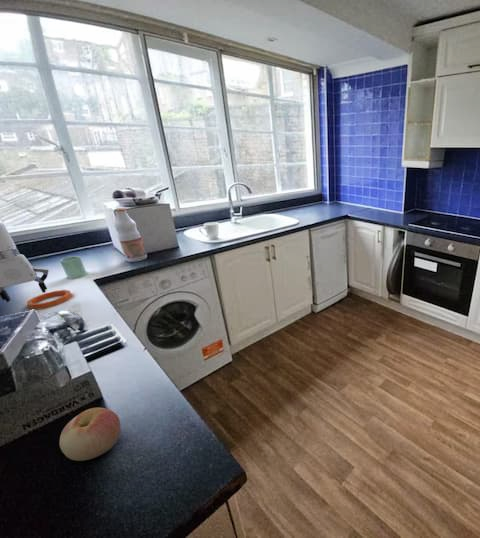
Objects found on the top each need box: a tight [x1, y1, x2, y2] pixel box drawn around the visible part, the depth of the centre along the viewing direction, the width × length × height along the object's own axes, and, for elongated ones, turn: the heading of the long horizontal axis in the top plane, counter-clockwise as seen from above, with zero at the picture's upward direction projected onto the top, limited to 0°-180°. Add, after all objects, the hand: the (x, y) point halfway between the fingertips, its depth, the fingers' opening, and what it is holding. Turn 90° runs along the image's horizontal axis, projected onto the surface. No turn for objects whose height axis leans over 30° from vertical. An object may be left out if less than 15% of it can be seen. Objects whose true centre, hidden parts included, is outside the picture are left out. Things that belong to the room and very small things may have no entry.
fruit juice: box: [113, 207, 148, 263], centre depth 156 cm, size 9×9×28 cm
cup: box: [59, 255, 88, 280], centre depth 140 cm, size 7×7×9 cm
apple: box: [59, 406, 121, 462], centre depth 58 cm, size 9×9×8 cm
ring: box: [26, 289, 73, 310], centre depth 118 cm, size 12×12×2 cm
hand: (27, 296), depth 113 cm, fingers open, 9 cm apart
